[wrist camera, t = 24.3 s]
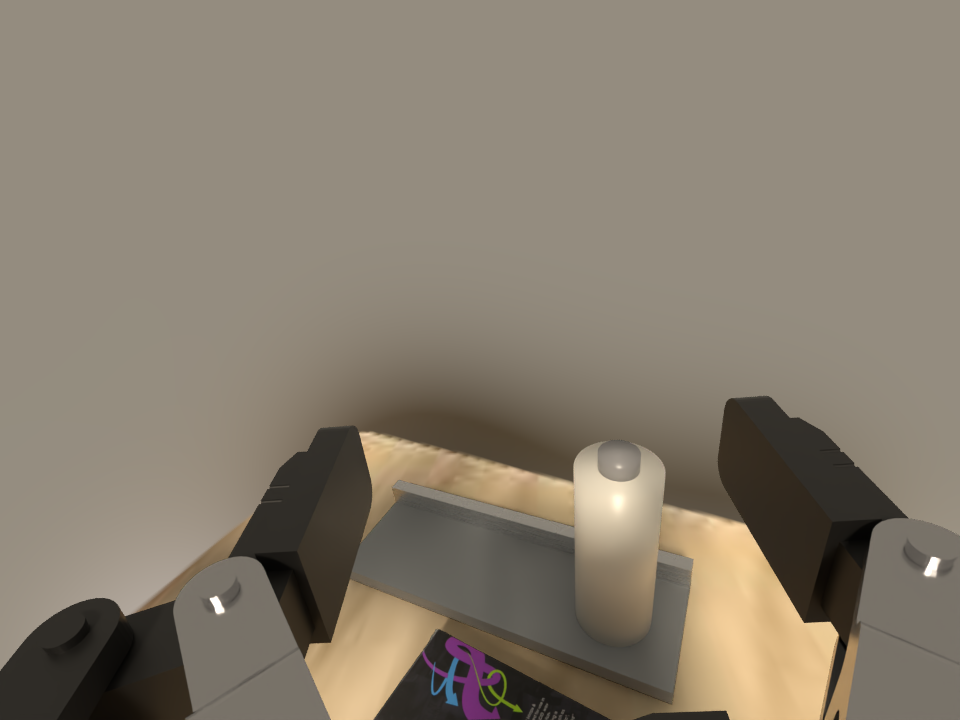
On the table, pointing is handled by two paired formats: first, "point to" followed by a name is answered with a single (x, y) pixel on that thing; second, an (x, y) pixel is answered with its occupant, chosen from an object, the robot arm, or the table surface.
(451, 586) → the shelf board
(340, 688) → the table surface
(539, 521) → the rail
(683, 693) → the table surface
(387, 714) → the box
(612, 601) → the cream bottle
